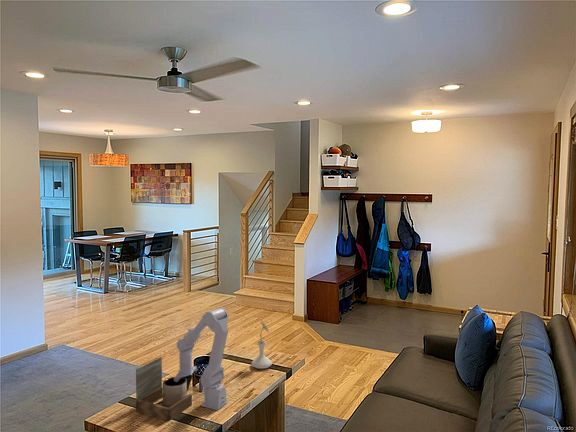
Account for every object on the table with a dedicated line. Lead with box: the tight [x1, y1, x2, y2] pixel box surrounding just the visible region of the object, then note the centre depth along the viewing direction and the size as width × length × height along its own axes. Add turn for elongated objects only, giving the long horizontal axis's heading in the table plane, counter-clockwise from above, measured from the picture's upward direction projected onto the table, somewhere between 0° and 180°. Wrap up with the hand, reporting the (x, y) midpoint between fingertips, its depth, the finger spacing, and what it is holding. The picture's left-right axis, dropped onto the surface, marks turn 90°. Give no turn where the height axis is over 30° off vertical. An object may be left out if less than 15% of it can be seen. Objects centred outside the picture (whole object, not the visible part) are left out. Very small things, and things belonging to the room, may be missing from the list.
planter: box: [162, 376, 188, 407], centre depth 194 cm, size 11×11×10 cm
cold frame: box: [135, 357, 193, 422], centre depth 188 cm, size 18×15×19 cm
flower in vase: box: [250, 320, 273, 370], centre depth 235 cm, size 13×11×25 cm
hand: (185, 390), depth 201 cm, fingers closed
